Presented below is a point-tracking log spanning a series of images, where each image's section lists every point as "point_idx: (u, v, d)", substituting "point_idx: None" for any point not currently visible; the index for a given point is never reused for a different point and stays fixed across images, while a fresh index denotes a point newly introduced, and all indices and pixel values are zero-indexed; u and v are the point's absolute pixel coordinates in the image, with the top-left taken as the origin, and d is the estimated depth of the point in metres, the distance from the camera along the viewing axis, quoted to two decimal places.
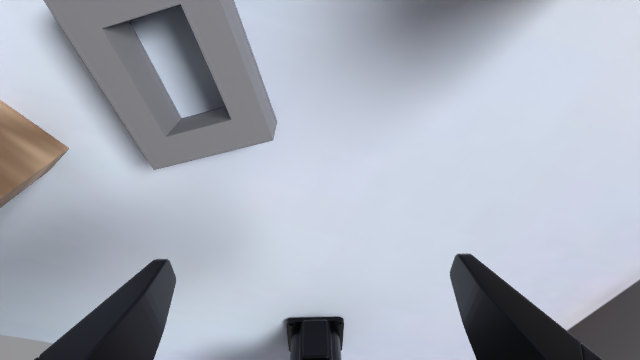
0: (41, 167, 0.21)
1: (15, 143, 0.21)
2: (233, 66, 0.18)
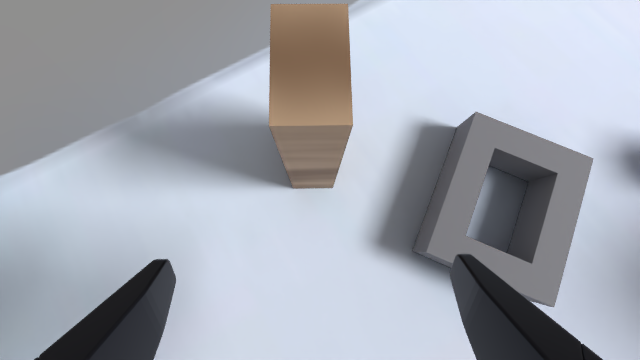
0: (334, 179, 0.21)
1: None
2: (564, 229, 0.21)
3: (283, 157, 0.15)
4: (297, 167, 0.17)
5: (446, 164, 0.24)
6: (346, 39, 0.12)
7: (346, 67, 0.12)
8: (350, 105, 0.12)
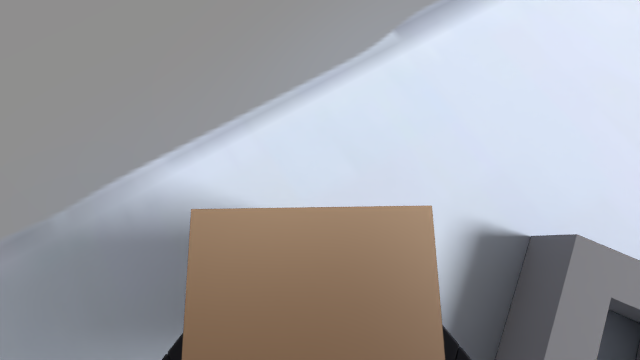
0: None
1: None
2: None
3: None
4: None
5: (521, 303, 0.15)
6: (433, 340, 0.04)
7: None
8: None
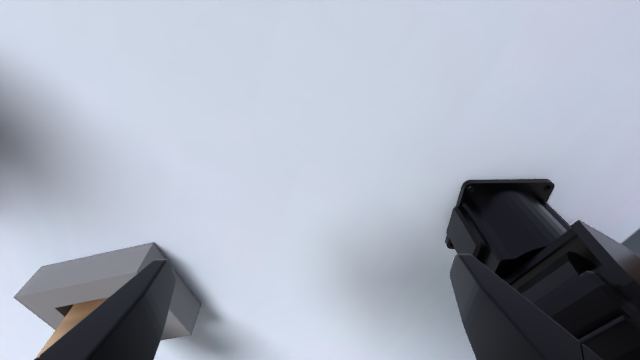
0: None
1: (105, 298, 0.26)
2: (82, 289, 0.24)
3: None
4: None
5: None
6: None
7: None
8: None
